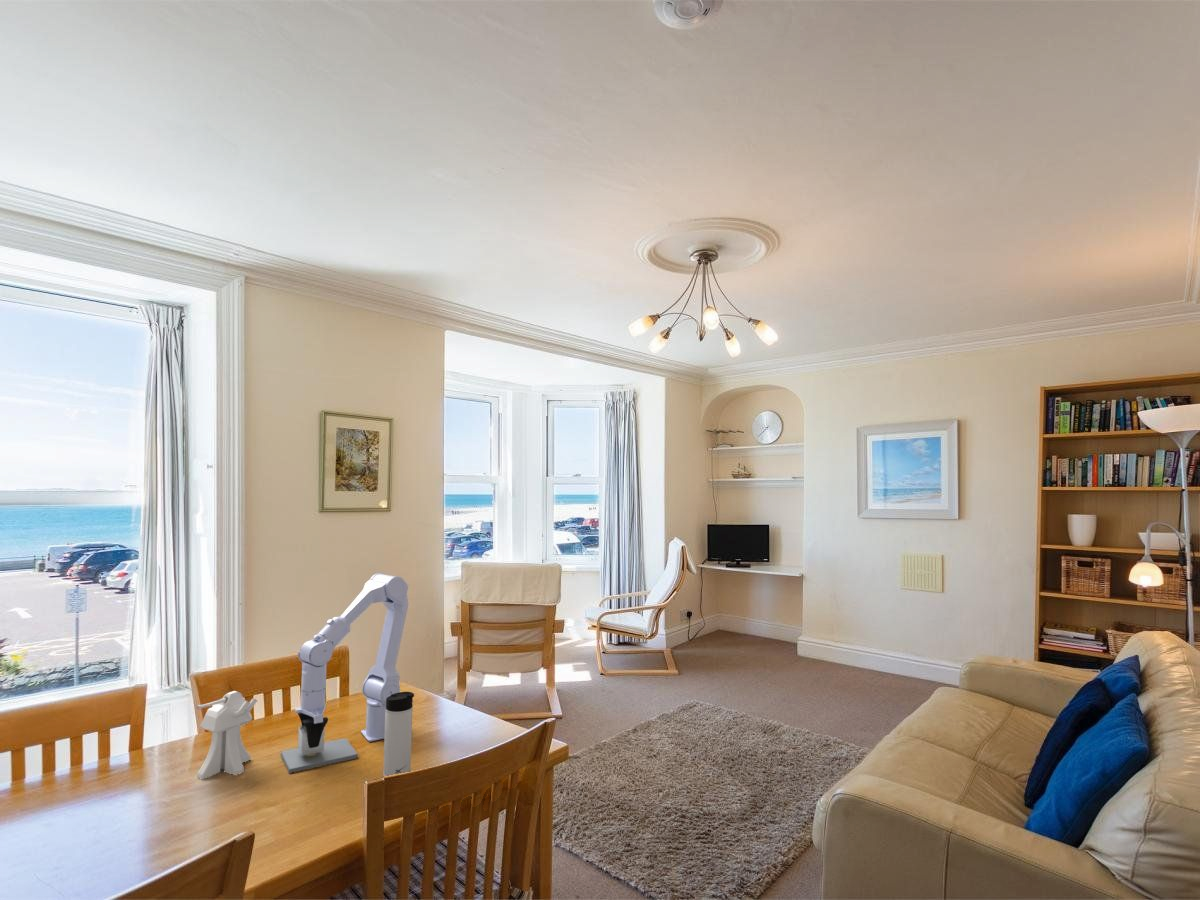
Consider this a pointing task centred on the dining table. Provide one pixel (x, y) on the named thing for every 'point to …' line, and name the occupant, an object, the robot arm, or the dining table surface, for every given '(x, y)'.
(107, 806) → the dining table surface
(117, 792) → the dining table surface
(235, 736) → the white mech figurine
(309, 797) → the dining table surface
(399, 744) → the travel mug
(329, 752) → the board
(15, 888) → the dining table surface
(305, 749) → the block
